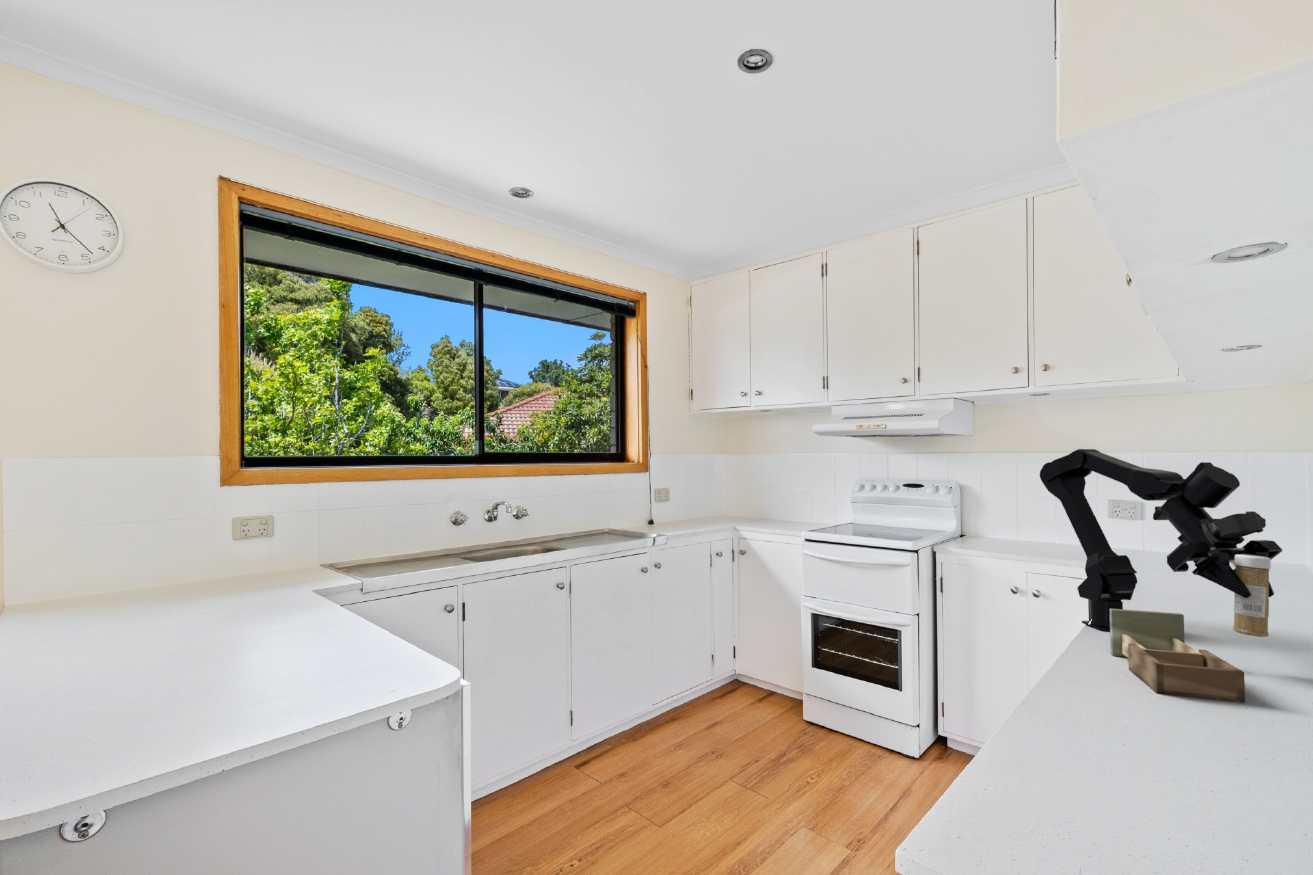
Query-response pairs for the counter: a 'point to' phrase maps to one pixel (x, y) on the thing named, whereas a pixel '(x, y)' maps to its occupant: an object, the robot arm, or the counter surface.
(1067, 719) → the counter surface
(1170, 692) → the walnut caddy
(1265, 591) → the spice jar
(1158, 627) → the drawer
